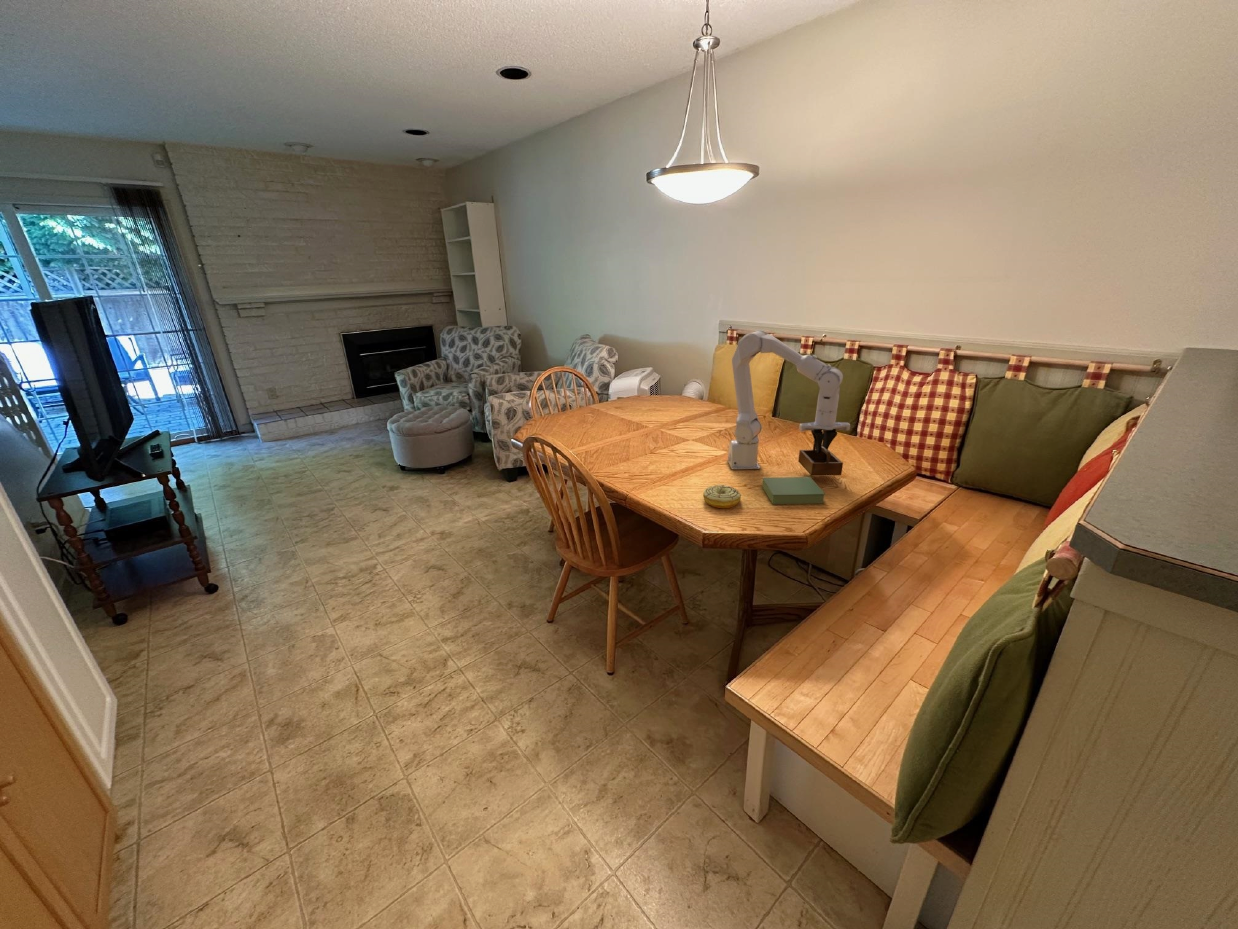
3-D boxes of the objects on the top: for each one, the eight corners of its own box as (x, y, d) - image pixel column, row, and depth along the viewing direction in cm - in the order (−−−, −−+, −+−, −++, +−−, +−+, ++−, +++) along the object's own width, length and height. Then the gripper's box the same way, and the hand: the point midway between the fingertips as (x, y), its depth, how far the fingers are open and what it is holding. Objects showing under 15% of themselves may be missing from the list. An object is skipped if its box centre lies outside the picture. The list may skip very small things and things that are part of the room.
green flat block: (772, 504, 135) (773, 494, 134) (761, 486, 146) (762, 477, 145) (824, 503, 134) (825, 494, 133) (808, 485, 146) (809, 476, 145)
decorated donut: (743, 496, 140) (743, 485, 139) (737, 512, 131) (738, 500, 129) (707, 492, 144) (708, 480, 142) (699, 507, 134) (700, 495, 133)
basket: (811, 475, 144) (814, 452, 142) (798, 461, 155) (800, 439, 153) (841, 475, 144) (844, 452, 141) (826, 460, 155) (829, 439, 152)
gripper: (806, 413, 139) (801, 457, 144) (857, 412, 139) (850, 456, 144) (798, 407, 146) (794, 449, 151) (847, 406, 145) (840, 448, 150)
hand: (820, 452), depth 148 cm, fingers closed on basket
